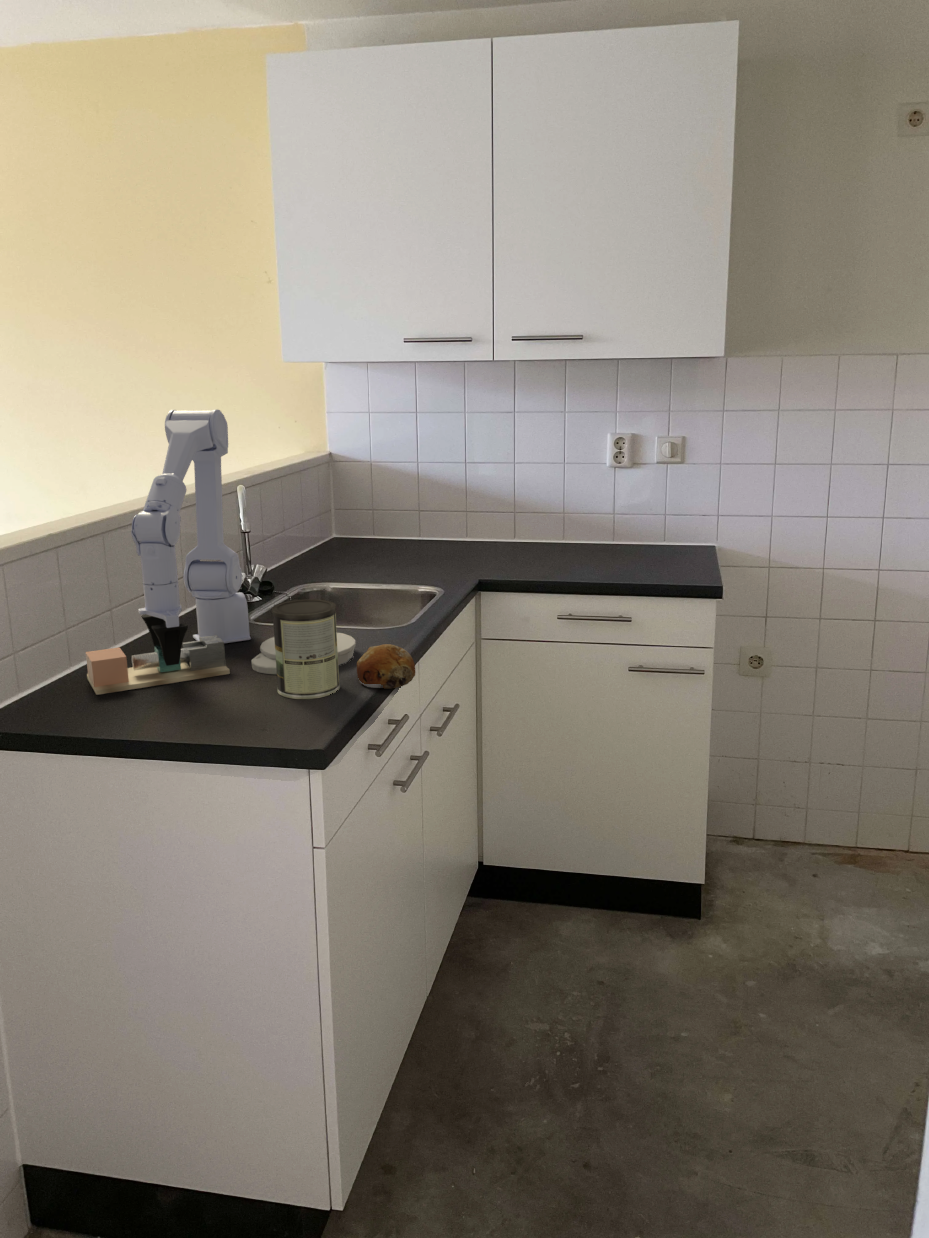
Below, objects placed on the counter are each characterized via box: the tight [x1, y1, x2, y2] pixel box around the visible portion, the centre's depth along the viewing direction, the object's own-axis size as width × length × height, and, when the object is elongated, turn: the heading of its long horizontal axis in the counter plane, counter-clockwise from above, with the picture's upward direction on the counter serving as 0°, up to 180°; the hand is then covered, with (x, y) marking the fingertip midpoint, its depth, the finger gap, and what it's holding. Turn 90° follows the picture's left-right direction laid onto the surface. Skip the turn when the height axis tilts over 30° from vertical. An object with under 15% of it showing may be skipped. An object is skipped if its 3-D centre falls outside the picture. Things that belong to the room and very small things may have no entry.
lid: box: [251, 632, 357, 675], centre depth 179 cm, size 17×20×3 cm
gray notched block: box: [182, 635, 227, 671], centre depth 173 cm, size 6×5×4 cm
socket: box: [85, 646, 129, 687], centre depth 166 cm, size 6×6×4 cm
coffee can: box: [271, 598, 341, 700], centre depth 161 cm, size 10×10×14 cm
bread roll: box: [356, 643, 416, 690], centre depth 166 cm, size 10×10×8 cm
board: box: [86, 663, 231, 696], centre depth 170 cm, size 22×10×1 cm, turn 118°
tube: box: [131, 645, 205, 672], centre depth 171 cm, size 15×3×4 cm, turn 118°
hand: (167, 658), depth 170 cm, fingers open, 7 cm apart
